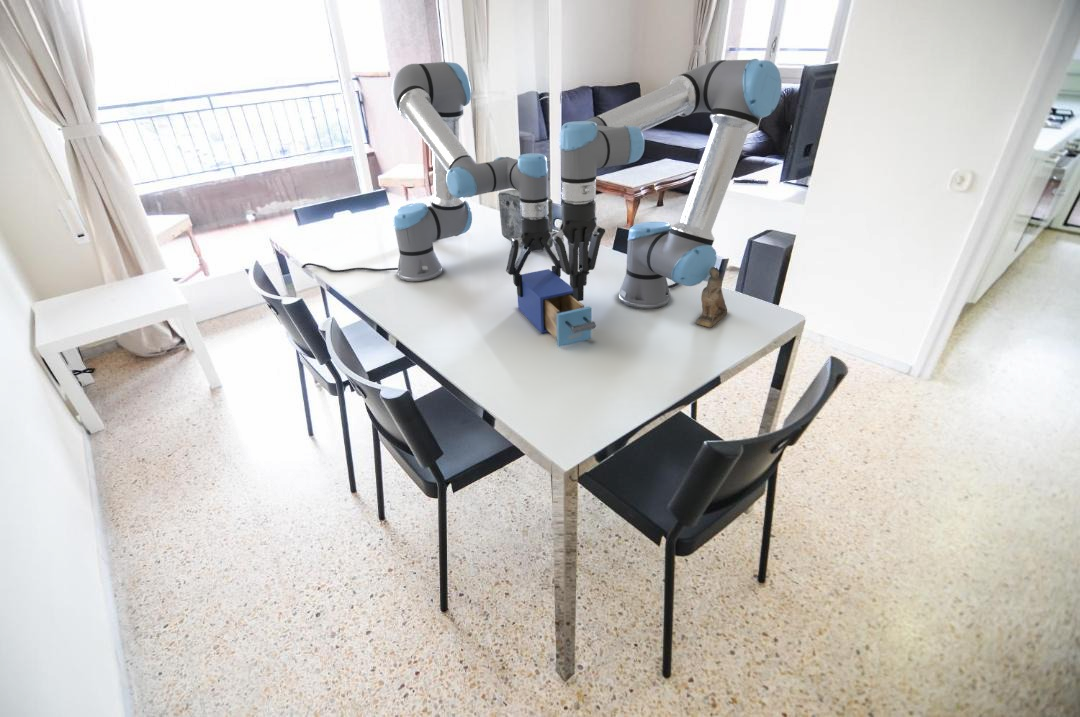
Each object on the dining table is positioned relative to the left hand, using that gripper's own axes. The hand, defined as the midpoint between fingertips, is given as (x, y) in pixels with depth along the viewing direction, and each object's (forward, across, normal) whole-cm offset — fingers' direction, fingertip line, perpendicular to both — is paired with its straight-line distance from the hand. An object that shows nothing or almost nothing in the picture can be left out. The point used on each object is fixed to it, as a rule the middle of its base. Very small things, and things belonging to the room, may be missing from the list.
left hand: (537, 291), depth 145 cm
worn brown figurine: (+6, +41, -28) cm, 50 cm away
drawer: (+5, 0, -19) cm, 19 cm away
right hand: (-8, 0, -26) cm, 27 cm away
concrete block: (+6, +19, +53) cm, 57 cm away
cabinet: (+6, 0, -5) cm, 8 cm away
